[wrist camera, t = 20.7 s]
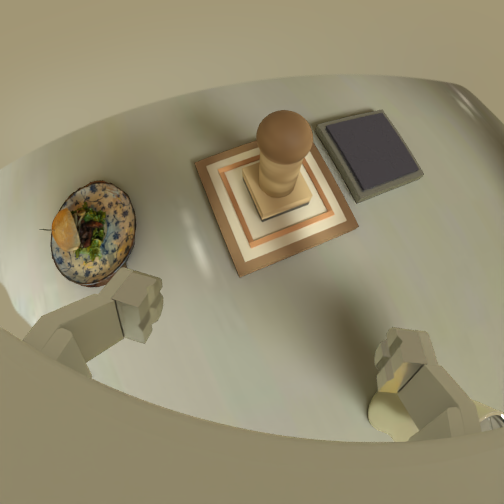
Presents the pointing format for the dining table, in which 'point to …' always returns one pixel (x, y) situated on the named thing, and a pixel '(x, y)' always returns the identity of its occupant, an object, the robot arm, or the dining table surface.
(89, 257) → the plate of salad
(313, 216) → the board
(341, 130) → the ink pad
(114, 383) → the dining table surface
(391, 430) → the beer glass
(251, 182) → the stamp
